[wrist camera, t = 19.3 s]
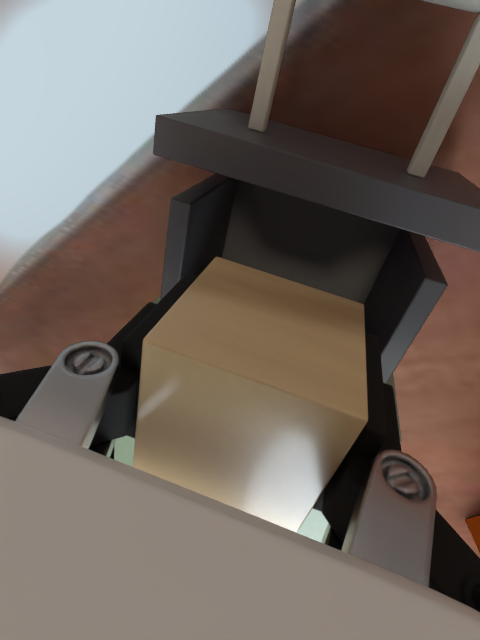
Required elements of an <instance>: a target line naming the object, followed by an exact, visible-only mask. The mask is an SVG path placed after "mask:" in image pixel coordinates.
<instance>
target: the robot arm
mask: <svg viewBox="0 0 480 640" xmlns="http://www.w3.org/2000/svg"><path fill="white" fill-rule="evenodd" d="M197 278H198V277H197V276H194V275H191V274H188V273H187V274H185V275H184V277H183V278H182V279H181V280H180V281H179V282H178V283H177V284H176V285H175V286H174V287H173V288H172V289H171V290H170V291H169V292H168V293H167V294H166V295H165V296H164V297H163V298H162V299H161V300H160V301H159V303H158V304H155V303H152V302H150V303H148V304H147V305H146V306H145V307H144V308H143V309H142V310H141V311H140V312H139V313H138V314H137V315H136V316H135V317H134V318H133V319H132V320H131V321H130V322H129V323H128V324H127V325H126V326H125V327H123V328H122V329H121V330H120V331H119V332H118V333H117V334H116V335H115V336H114V337H113V338H112V339H111V340H110V341H109V342H108V343H107V344H105V343H102V342H97V341H85V342H79V343H76V344H73V345H71V346H69V347H67V348H65V349H64V350H63V351H62V352H61V353H60V355H59V356H58V358H57V359H56V361H55V362H54V364H53V365H51V366H46V367H40V368H34V369H28V370H23V371H17V372H11V373H5V374H0V640H480V558H479V557H478V556H477V555H476V554H475V553H474V552H473V550H472V549H471V548H470V547H469V546H468V545H467V544H466V543H465V542H464V540H463V539H462V538H461V537H460V536H459V535H458V534H457V533H456V531H455V530H454V529H453V528H452V527H451V526H450V525H449V524H448V523H447V521H446V520H445V519H444V518H443V517H442V516H441V515H440V514H439V513H438V511H437V510H436V498H437V492H436V486H435V483H434V481H433V478H432V477H431V475H430V474H429V472H428V471H427V470H426V468H425V467H424V466H423V465H422V464H421V463H419V462H418V461H417V460H416V459H414V458H413V457H411V456H410V455H408V454H406V453H403V452H401V444H400V436H399V428H398V421H397V413H396V405H395V397H394V390H393V387H392V386H391V385H389V384H386V383H383V375H382V364H381V353H380V343H379V337H377V336H374V335H371V334H368V333H365V345H366V372H367V400H368V422H367V423H366V425H365V426H364V428H363V429H362V431H361V433H360V434H359V436H358V437H357V439H356V440H355V442H354V444H353V445H352V447H351V448H350V450H349V451H348V453H347V455H346V456H345V458H344V459H343V461H342V462H341V464H340V465H339V467H338V469H337V470H336V472H335V473H334V475H333V476H332V478H331V480H330V481H329V483H328V484H327V486H326V487H325V489H324V491H323V492H322V494H321V495H320V497H319V498H318V500H317V502H316V503H315V505H314V506H313V509H316V510H318V511H321V512H322V514H323V515H324V517H325V518H326V520H327V521H328V525H327V527H326V530H325V533H324V536H323V539H322V541H321V542H318V541H316V540H313V539H311V538H308V537H306V536H303V535H301V534H299V533H296V532H294V531H291V530H289V529H286V528H284V527H281V526H279V525H276V524H274V523H272V522H269V521H267V520H264V519H262V518H259V517H257V516H254V515H252V514H249V513H247V512H244V511H242V510H239V509H237V508H234V507H232V506H229V505H227V504H224V503H222V502H219V501H217V500H214V499H212V498H209V497H207V496H204V495H202V494H199V493H197V492H194V491H192V490H189V489H187V488H184V487H182V486H179V485H177V484H174V483H172V482H169V481H167V480H164V479H162V478H159V477H157V476H154V475H152V474H149V473H147V472H144V471H142V470H139V469H137V468H134V467H132V466H129V465H126V464H124V463H121V462H119V461H116V460H114V459H111V458H110V456H111V453H112V450H113V447H114V445H115V441H116V439H117V438H121V437H124V436H126V435H127V436H129V437H132V438H134V439H135V432H136V420H137V407H138V395H139V383H140V371H141V358H142V346H143V339H144V338H145V337H146V335H147V334H148V333H149V332H150V331H151V330H152V329H153V328H154V326H155V325H156V324H157V323H158V322H159V321H160V320H161V318H162V317H163V316H164V315H165V314H166V313H167V312H168V310H169V309H170V308H171V307H172V306H173V305H174V304H175V303H176V301H177V300H178V299H179V298H180V297H181V296H182V295H183V293H184V292H185V291H186V290H187V289H188V288H189V287H190V285H191V284H192V283H193V282H194V281H195V280H196V279H197Z"/></svg>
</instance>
